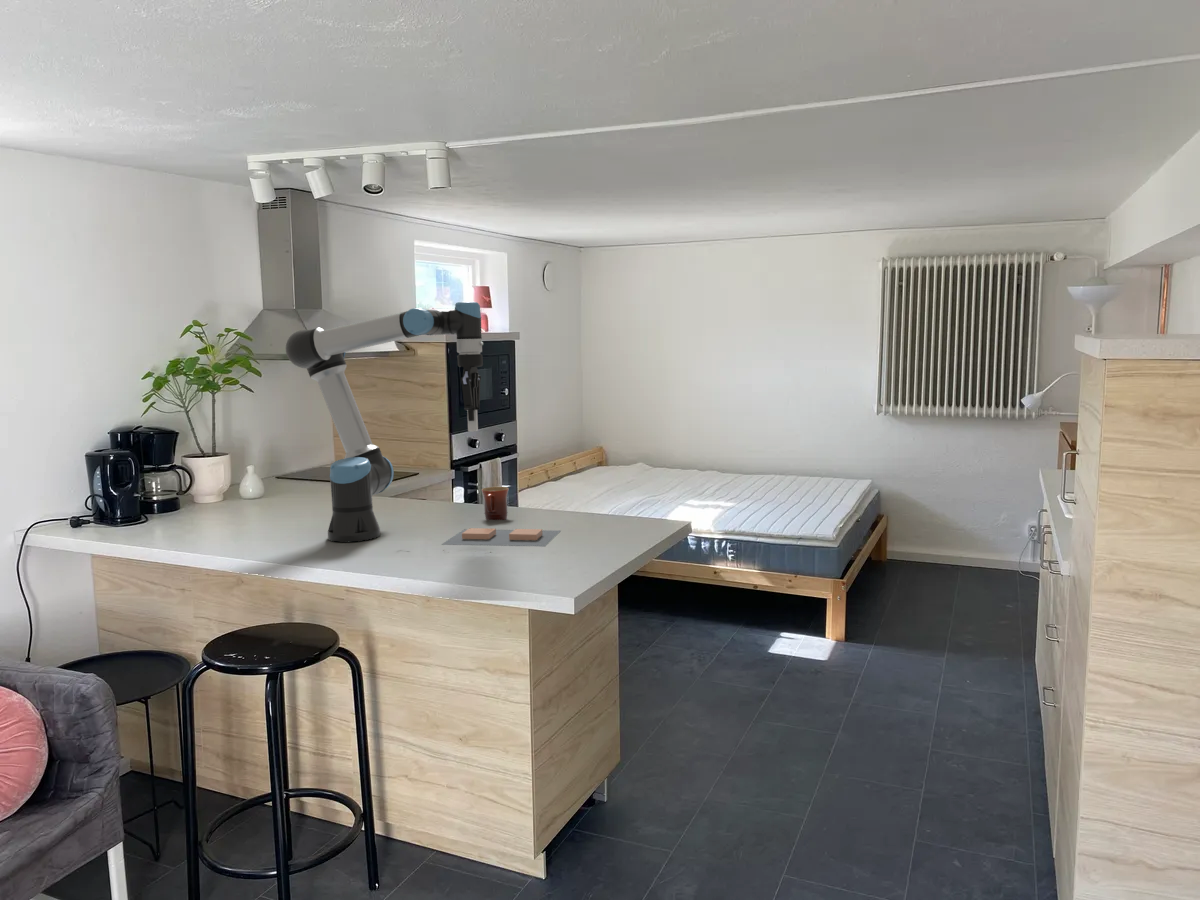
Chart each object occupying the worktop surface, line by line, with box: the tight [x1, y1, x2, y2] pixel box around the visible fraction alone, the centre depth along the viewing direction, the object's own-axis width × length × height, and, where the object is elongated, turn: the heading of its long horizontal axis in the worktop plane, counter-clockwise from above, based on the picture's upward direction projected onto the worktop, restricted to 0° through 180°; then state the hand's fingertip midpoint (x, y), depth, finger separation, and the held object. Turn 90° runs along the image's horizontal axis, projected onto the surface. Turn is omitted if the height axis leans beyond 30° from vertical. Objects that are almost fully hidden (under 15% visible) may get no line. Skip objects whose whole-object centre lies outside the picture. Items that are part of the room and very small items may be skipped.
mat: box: [441, 528, 561, 547], centre depth 252 cm, size 30×20×1 cm, turn 80°
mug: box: [481, 486, 509, 521], centre depth 281 cm, size 12×9×10 cm
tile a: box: [462, 527, 497, 540], centre depth 253 cm, size 8×2×7 cm
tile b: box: [509, 528, 543, 541], centre depth 251 cm, size 8×2×7 cm
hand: (473, 431), depth 267 cm, fingers closed
